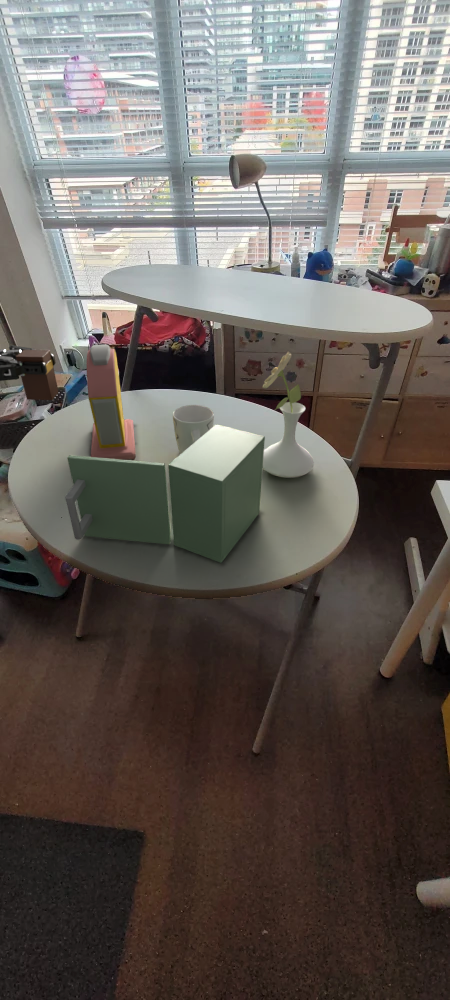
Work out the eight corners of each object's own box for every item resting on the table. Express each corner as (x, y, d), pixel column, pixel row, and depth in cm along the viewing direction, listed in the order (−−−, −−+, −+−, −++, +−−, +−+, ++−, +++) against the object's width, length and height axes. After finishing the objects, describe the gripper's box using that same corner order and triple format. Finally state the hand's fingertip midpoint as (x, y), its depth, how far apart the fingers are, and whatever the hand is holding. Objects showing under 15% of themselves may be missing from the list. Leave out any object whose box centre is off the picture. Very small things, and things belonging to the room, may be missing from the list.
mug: (218, 471, 94) (218, 428, 88) (177, 474, 93) (175, 431, 87) (211, 444, 103) (210, 403, 97) (173, 447, 102) (171, 405, 96)
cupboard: (173, 545, 76) (167, 464, 67) (216, 499, 87) (216, 424, 77) (221, 563, 73) (222, 481, 63) (259, 513, 83) (265, 436, 74)
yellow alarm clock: (94, 422, 111) (79, 332, 98) (133, 419, 113) (122, 330, 100) (91, 470, 94) (71, 368, 81) (136, 466, 95) (124, 366, 83)
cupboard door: (162, 566, 72) (154, 485, 62) (72, 556, 73) (52, 476, 64) (171, 541, 76) (164, 462, 67) (86, 533, 78) (69, 454, 69)
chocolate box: (26, 399, 89) (15, 356, 84) (34, 391, 92) (23, 349, 87) (52, 400, 89) (42, 357, 84) (59, 392, 92) (50, 350, 87)
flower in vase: (283, 448, 102) (296, 335, 87) (324, 469, 95) (344, 350, 80) (241, 468, 95) (247, 349, 80) (281, 493, 88) (296, 367, 73)
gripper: (-67, 354, 79) (31, 356, 79) (-28, 331, 90) (58, 332, 90) (-52, 395, 83) (41, 397, 83) (-16, 368, 95) (65, 369, 95)
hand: (49, 363), depth 87 cm, fingers closed on chocolate box, 4 cm apart
